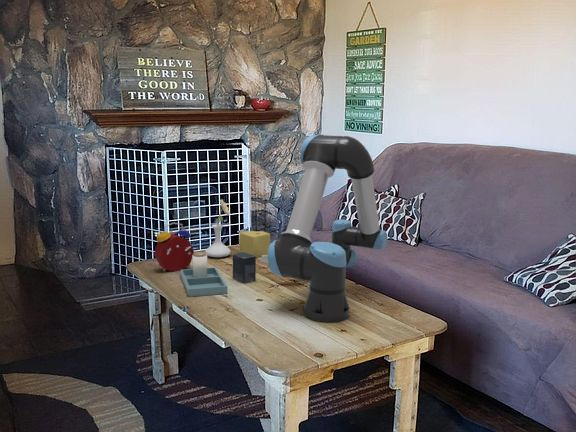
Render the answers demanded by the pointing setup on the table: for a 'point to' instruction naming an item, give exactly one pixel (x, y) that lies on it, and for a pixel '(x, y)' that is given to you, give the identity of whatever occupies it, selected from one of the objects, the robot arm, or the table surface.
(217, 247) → the flower in vase
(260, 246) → the yellow block
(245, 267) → the box
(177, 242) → the alarm clock
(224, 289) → the tray
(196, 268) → the jar
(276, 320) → the table surface
